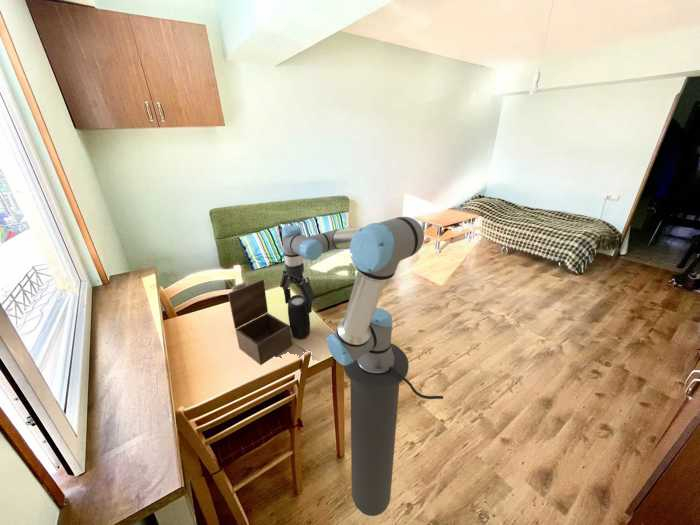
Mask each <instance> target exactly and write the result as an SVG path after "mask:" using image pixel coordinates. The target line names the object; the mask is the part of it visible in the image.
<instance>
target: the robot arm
mask: <svg viewBox="0 0 700 525" xmlns="http://www.w3.org/2000/svg"><path fill="white" fill-rule="evenodd" d="M424 233H425V232H424V228H423V227H422V225H421V223H419V221H417V220H416V219H415V218H413V217H410V216H398V217H395V218H391V219H388V220H383V221H380V222H372V223H369V224H367V225H365V226H360V227H352V228H350V227H349V228H335V229H332V230H330V231H326V232H320V233H316V234H313V235H308V236H306V235H304V234H303V233H302V228H301V227H300V226H299V225H287V226H283V227H282V229H281V239H282V249H283V250H282V251H283V260H284V267H285V268H284V270H282V276H281V280H280V283H279V287H280V288H282V290H283V296H284V302H285V303H284V304H287V305H288V300H289V299H290V298H291V297H292V294H291V288H290V286H292V284H293V285H295V286H296V287H297V288H298V289H299V290H300V292H301V294H302V296H303V297H305V299H306V300H305V309H306V314H309V315H310V314H311V313H312V312H313V311H312V310H313V308H312V307H313V301H314V300H316V296H315V293H314V291H313V288H312V286H311V283H310V278H309V277H308V276H305V277H304V275H303V274H304V272H305V265H304V259H306V260H309V261H316V260H318V259H319V258H320V257H321V256H322V254H324V253H328V252H330V251H333V250H349V253H350V254H351V256H350V259H351V261H352V263H353V265H354V268H355V270H356V271H357V272H356V275H355V279H354V283H353V286H352V290H351V293H350V297H349V300H348V304H347V307H346V311H345V315H344V317H343V318H342V319H340V320H339V321H338V324H337V327H336V330H335V331H334V332H333V333H330V334H329V335H328V336H327V337H326V345H327V348H328V351H329V353H330V355H331V356H332V357H333V359H334V360H335V361H336V362H337V363H338V364H339V365H341V366H343V365H344V366H346V365H349V364H351V363H353V362H354V361H355V360H357V364H358V366H359V368H360V369H361V370H363V371H364V372H366V373H369V374H373V375H380V374H385V373H387V372H389V371H390V370H392V371H393V372H394V373H395V374H397V375H398V376H399V377H400V378H401V379H403V382H405V383H406V384H407V385H408V386H409V387H410V389H411V390H412V392H413V393H414V394H415V395H416V396H418V397H419V398H421V399H426V400H444V396H443V395H424V394H423V393H420V392H418V391H417V390H416V388H415V387H414V385H413V384H412V383H411V382H410V380H408V379H407V377H405V378H404V377H403V376H402V375H401V374H399V373H398V372H397V371H396V370H394V369H393V366H394V354H393V352H392V349H391V343H392V332H393V330H392V329H393V317H392V314H391V313H390V312H389V311H387V310H386V309H384V308H381V307H377V306H378V304H379V301H380V298H381V295H382V294H383V290H384V287H385V284H386V282H387V281H388V280H391V279H392V278H393V277H394V276H395V273H396V271H397V268H398V266H399V263H400V262H402V261H403V260H406V259H409V258H410V257H412V256H414V255H416V254H417V253H418V252H419V251H420V250H421V248H422V246H423V244H424V242H425V234H424Z"/></svg>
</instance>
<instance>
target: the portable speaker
mask: <svg viewBox="0 0 700 525" xmlns="http://www.w3.org/2000/svg"><path fill="white" fill-rule="evenodd" d="M305 300H306V299H305V297H304V295H301V294H294V295H291V298H290V299H289V300H288V303H287V315H288V316H287V317H288V322H289V324H288V325H289V326H290V331H291V336H292V337H293V338H294V339H296V340H305V339H306V338H307V337H309V335H310V332H311V321H310V320H311V319H310V313H309V314H306V309H305Z"/></svg>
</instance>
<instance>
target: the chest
mask: <svg viewBox="0 0 700 525" xmlns="http://www.w3.org/2000/svg"><path fill="white" fill-rule="evenodd" d="M234 330H235V335H236V340H237V344H238V349H239V350H240V351H241V352H243V353H244V354H245V355H247V356H248V357H249V358H251V359H252V360H253V361H255V362H256V363H257V364H259V365H260V366H262V365H264V364H265V363H267V362H268V361H270V360H272V359H273V358H274V357H276V356H277V355H279V354H281V353H282V352H284V351H285V350H287V349H288V348H289V347H291V346H293V341H292V332H291V328H290V324H288V323H286V322H284V321H283V320H281V319H279V318H277V317H276V316H274V315H272V314H270V313H269V312H267V313H266V314H264V315H262V316H260V317H258V318H256V319H254V320H252V321H250V322H248V323H246V324H244V325H242V326H240V327H238V328H236V329H235V328H234Z"/></svg>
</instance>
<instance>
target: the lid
mask: <svg viewBox="0 0 700 525" xmlns="http://www.w3.org/2000/svg"><path fill="white" fill-rule="evenodd" d="M265 286H266V285H265V280H264V279H263V278H262V279H260V280H257V281H255V282H252V283H249V284H247V282H245V281H243V282H241V283H238V284H236V285H232V286H231V291H230V292H228V293H227V296H228V302H229V307H230V310H231V317H232V322H233V327H234V330H235V329H237V328H239V327H241V326H243V325H245V324H247V323H249V322H251V321H253V320H255V319H257V318H259V317H261V316H263V315H264V314H266V313H269V308H268V302H267V295H266V294H267V293H266V287H265Z"/></svg>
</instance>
